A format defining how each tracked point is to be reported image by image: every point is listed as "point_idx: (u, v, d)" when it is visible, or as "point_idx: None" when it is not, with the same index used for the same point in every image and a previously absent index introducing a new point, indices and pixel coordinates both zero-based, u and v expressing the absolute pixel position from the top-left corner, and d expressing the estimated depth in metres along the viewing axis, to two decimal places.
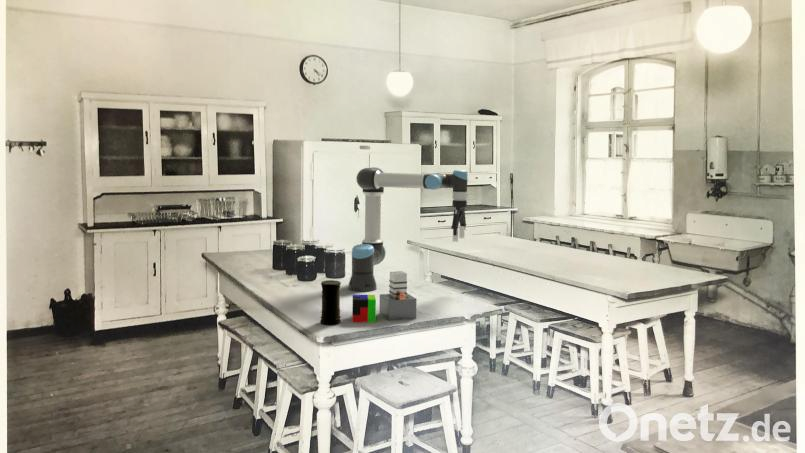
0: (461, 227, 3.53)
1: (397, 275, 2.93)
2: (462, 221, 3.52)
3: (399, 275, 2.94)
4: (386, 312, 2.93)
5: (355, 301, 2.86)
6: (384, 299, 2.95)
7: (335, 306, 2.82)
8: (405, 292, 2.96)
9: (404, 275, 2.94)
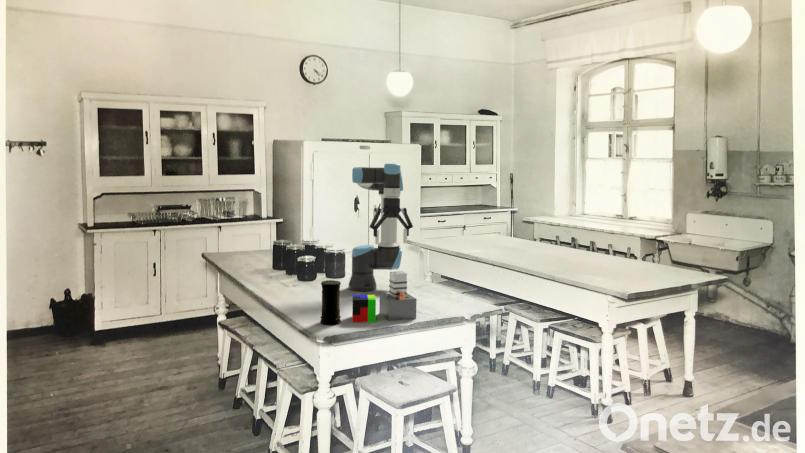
0: (404, 230, 3.04)
1: (397, 275, 2.93)
2: (402, 223, 3.03)
3: (399, 275, 2.94)
4: (386, 312, 2.93)
5: (355, 301, 2.86)
6: (384, 299, 2.95)
7: (335, 306, 2.82)
8: (405, 292, 2.96)
9: (404, 275, 2.94)
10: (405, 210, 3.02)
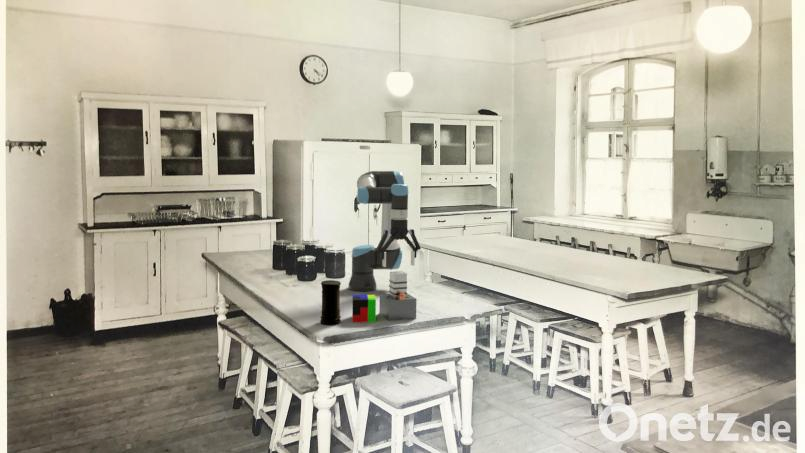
0: (411, 252, 2.98)
1: (397, 275, 2.93)
2: (410, 245, 2.96)
3: (399, 275, 2.94)
4: (386, 312, 2.93)
5: (355, 301, 2.86)
6: (384, 299, 2.95)
7: (335, 306, 2.82)
8: (405, 292, 2.96)
9: (404, 275, 2.94)
10: (413, 232, 2.95)
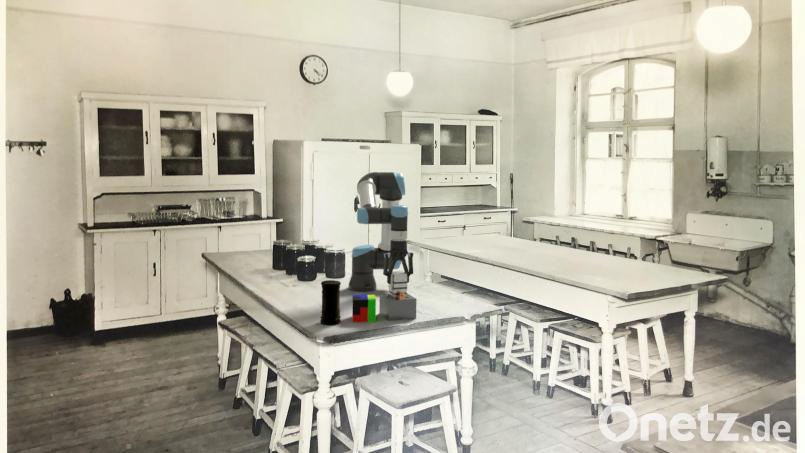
0: None
1: (397, 275, 2.93)
2: (404, 268, 2.97)
3: (399, 275, 2.94)
4: (386, 312, 2.93)
5: (355, 301, 2.86)
6: (384, 299, 2.95)
7: (335, 306, 2.82)
8: (405, 292, 2.96)
9: (404, 275, 2.94)
10: (412, 255, 2.97)
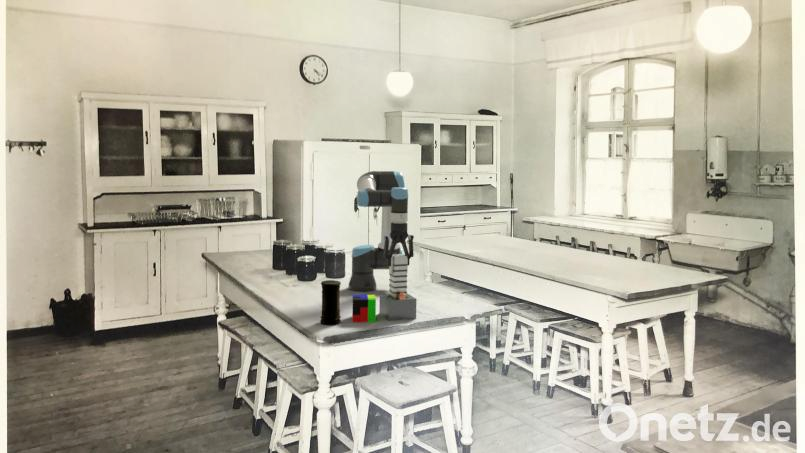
0: None
1: (397, 258, 2.92)
2: (405, 250, 2.96)
3: (399, 257, 2.93)
4: (386, 312, 2.93)
5: (355, 301, 2.86)
6: (384, 299, 2.95)
7: (335, 306, 2.82)
8: (405, 275, 2.95)
9: (404, 257, 2.94)
10: (412, 237, 2.96)
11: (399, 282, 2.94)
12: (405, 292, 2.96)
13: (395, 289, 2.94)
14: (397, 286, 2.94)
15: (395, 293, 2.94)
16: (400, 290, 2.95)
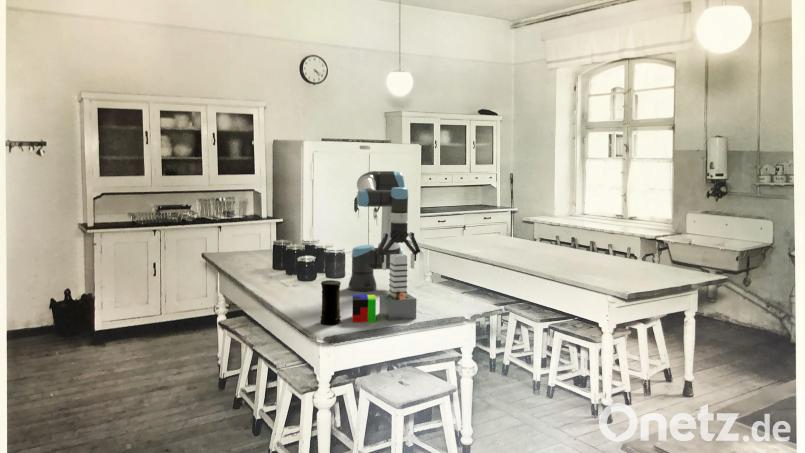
0: (411, 255, 2.98)
1: (397, 257, 2.92)
2: (409, 248, 2.96)
3: (399, 257, 2.93)
4: (386, 312, 2.93)
5: (355, 301, 2.86)
6: (384, 299, 2.95)
7: (335, 306, 2.82)
8: (405, 275, 2.95)
9: (404, 257, 2.94)
10: (413, 235, 2.96)
11: (399, 282, 2.94)
12: (405, 292, 2.96)
13: (395, 289, 2.94)
14: (397, 286, 2.94)
15: (395, 293, 2.94)
16: (400, 290, 2.95)
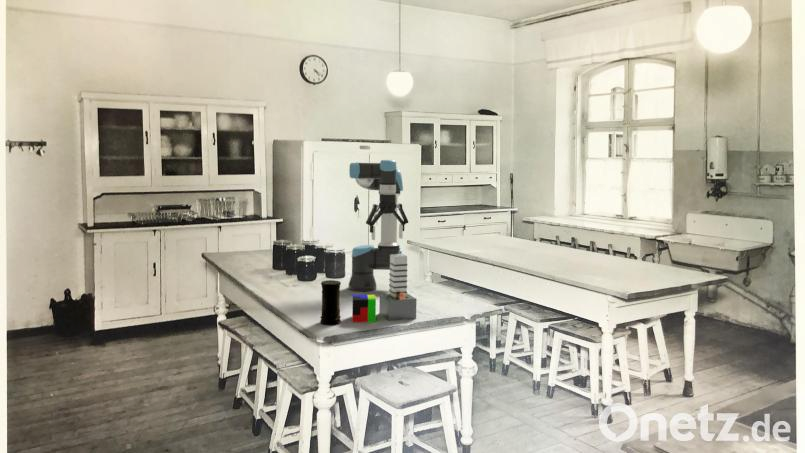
0: (399, 225, 3.08)
1: (397, 257, 2.92)
2: (398, 219, 3.07)
3: (399, 257, 2.93)
4: (386, 312, 2.93)
5: (355, 301, 2.86)
6: (384, 299, 2.95)
7: (335, 306, 2.82)
8: (405, 275, 2.95)
9: (404, 257, 2.94)
10: (401, 206, 3.06)
11: (399, 282, 2.94)
12: (405, 292, 2.96)
13: (395, 289, 2.94)
14: (397, 286, 2.94)
15: (395, 293, 2.94)
16: (400, 290, 2.95)
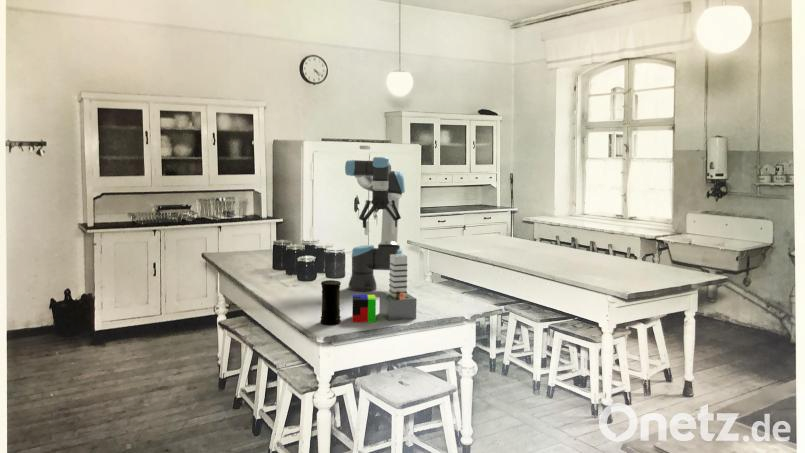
0: (392, 221, 3.15)
1: (397, 257, 2.92)
2: (390, 214, 3.14)
3: (399, 257, 2.93)
4: (386, 312, 2.93)
5: (355, 301, 2.86)
6: (384, 299, 2.95)
7: (335, 306, 2.82)
8: (405, 275, 2.95)
9: (404, 257, 2.94)
10: (393, 202, 3.13)
11: (399, 282, 2.94)
12: (405, 292, 2.96)
13: (395, 289, 2.94)
14: (397, 286, 2.94)
15: (395, 293, 2.94)
16: (400, 290, 2.95)
